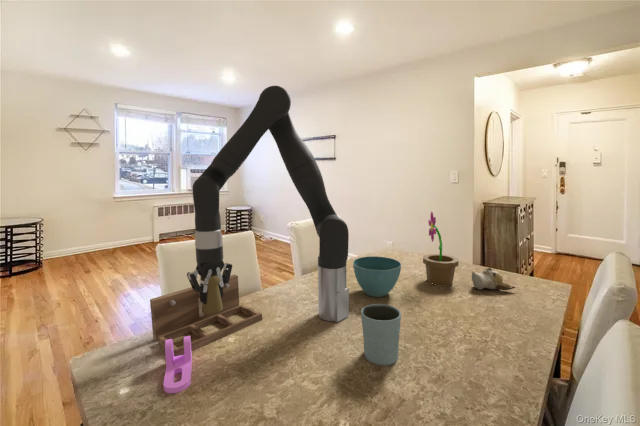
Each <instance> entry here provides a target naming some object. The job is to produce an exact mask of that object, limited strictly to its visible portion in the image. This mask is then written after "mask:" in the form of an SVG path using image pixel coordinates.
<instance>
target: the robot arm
mask: <svg viewBox="0 0 640 426" xmlns="http://www.w3.org/2000/svg"><path fill="white" fill-rule="evenodd" d="M290 96H291V95H290V94H289V92H288V90H287V89H285V88H284V87H282V86H279V85H269V86H268V87H266V88H264V89H263V90H262V91H261V93H260V94H259V97H258V99H257V102H256V104H255V105H254V107H253V109H252V111H250V113H249V115H248V116H247V118H246V119H245V121H244V122H243V123H242V124H241V126H240V127H239V128H238V129H237V131H236V132H234V134H233V135H232V136H231V137H230V138H229V139H228V141H227V142H226V143H225V144H224V146H223V147H222V148H221V149H220V151H218V153H216V155H215V156H214V158H213V159H212V161H211V163H210V164H209V165H208V167H206V169H204V170H203V172H202V173H201V174H200V176H198V177H197V179H195V180H194V182H193V184H192V190H191V191H192V200H193V207H194V225H195V226H194V229H195V235H194V242H195V243H194V246H195V247H194V248H195V260H196V267H195V270H193V271H191V272H190V271H189V272H187V273H186V276H187V279H188V281H189V283H190V286H191V287H192V288H193V290H194V291H197V292H200V301H201V302H202V303H203V304H207V292H206V291H207V287H208V286H207V284H208V281H207V280H209V279H210V276H212V275H217V276H219V278H220V283H219V284H218V285H219V290H220V295H221V299H222V297H223V286H224V285H225V284H228V283H229V279H230V276H231V274H232V270H233V264H232V263H229V262H224V260H223V259H224V247H223V246H224V243H223V233H222V225H221V224H222V223H221V222H222V221H221V213H220V191H221V189H222V188H223V187H224V186H225V184H226V183H227V182H228V180H229V179H230V178H231V177H232V176H234V175H235V173H236V172H237V171H238V170H239V169H240V167H241V166H242V165H244V162H245V161H246V160H247V158H248V157H249V155H250V154H251V153H252V152H253V150H254V148H255V146H256V145H257V144H258V142H259V141H260V139H261V138H263V136H264V135H265V134H266V132H268V131H269V132H270V134H271V136H272V137H273V140H274V141H275V143H276V145H277V148H278V151H279V154H280V157H281V159H282V161H283V164H284V166H285V168H286V170H287V172H288V176H289V177H290V179H291V181H292V183H293V185H294V187H295V189H296V190H297V192H298V194H299V195H300V197H301V199H302V201H303V202H304V204H305V205H306V208H307V209H308V212H309V213H310V214H309V215H310V217H311V220H312V221H313V226H314V228H315V231H316V235H317V236H318V238H319V240H318V242H319V248H318V249H319V250H318V251H319V252H318V253H319V254H318V256H317V281H318V282H317V283H318V284H317V289H318V290H317V292H318V293H317V294H318V295H317V296H318V297H317V298H318V302H317V303H318V317H319V318H320V319H322V320H324V321H326V322H336V323H339V322H341V321H343V320H344V319H346V318H347V317H349V316H350V288H348V287H347V261H348V258H349V257H348V256H349V239H350V238H349V236H350V235H349V227H348V224H347V223H346V222H345V221H344V220H343V219H342V218H340V217H339V216H338V214H337V212H336V211H335V209H334V208H333V205H332V204H331V202H330V200H329V197H328V195H327V191H326V186H325V182H324V179H323V175H322V173H321V170H320V167H319V165H318V163H317V161H316V158H315V157H314V155H313V153H312V151H311V150H310V149H309V147H308V146H307V144H306V143H305V141H303V139H302V138H301V137H300V136H299V133H297V130H296V129H295V126H294V123H293V120H292V118H291V116H290V113H289V112H290V110H291V104H292V103H291V102H292V101H291V97H290ZM198 275H199V276H198ZM198 277H199V280H197V279H198ZM202 278H203V279H205V281H202ZM198 281H199V282H198Z"/></svg>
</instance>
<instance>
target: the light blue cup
mask: <svg viewBox="0 0 640 426" xmlns="http://www.w3.org/2000/svg"><path fill="white" fill-rule="evenodd" d="M360 315H361V316H360V317H361V318H360V319H361V327H362V338H363V353H364V358H365V359H366V360H367V361H368V362H370V363H371V364H374V365H378V366H390V365H393V364H395V363H396V362H397V361H398V359H399V351H400V350H399V349H400V346H399V343H400V332H401V319H402V312H401V310H400V309H398V308H397V307H395V306H393V305H389V304H385V303H383V304H382V303H375V304H374V303H373V304H368V305H366V306H364V307H362V308H361V310H360Z"/></svg>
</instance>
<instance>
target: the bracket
mask: <svg viewBox="0 0 640 426" xmlns="http://www.w3.org/2000/svg"><path fill="white" fill-rule="evenodd" d="M173 340H174V339H173ZM173 340H172V339H168V340H166V341H165V348H164V353H165V355H164V356H165V364H166V368H165V373H164V377H163V378H164V379H163V385H162V386H163V391H164V392H165V393H167V394H176V393H180V392H182V391H185V390H186V389H188V388H189V387H190V385H191V380H192V363H193V360H192V359H193V355H192V353H193V351H191V342H192V340H191V335H187V336H186V335H184V336H183V345H184V355H180V356H174V351H173V344H174V341H173ZM179 373H180V374H181V379H180V380H179V381H174V380H175V375H177V374H179Z"/></svg>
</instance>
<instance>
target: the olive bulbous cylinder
mask: <svg viewBox="0 0 640 426" xmlns="http://www.w3.org/2000/svg"><path fill="white" fill-rule="evenodd" d="M202 281H205V279H203V278H202ZM207 281H208V284H207V286H208V287H207V291H206V292H207V304H202V312H203V313H205V314H214V313H218V312H220V311H222V310H223V305H222V300H221V295H220V290H219V285H218V284H219V283H220V278H219V276H217V275H212V276H210V279H209V280H207Z"/></svg>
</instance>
